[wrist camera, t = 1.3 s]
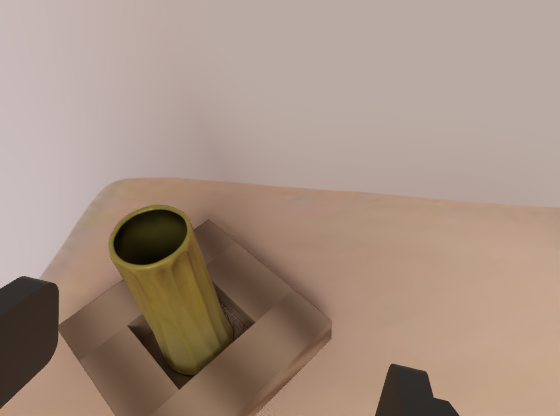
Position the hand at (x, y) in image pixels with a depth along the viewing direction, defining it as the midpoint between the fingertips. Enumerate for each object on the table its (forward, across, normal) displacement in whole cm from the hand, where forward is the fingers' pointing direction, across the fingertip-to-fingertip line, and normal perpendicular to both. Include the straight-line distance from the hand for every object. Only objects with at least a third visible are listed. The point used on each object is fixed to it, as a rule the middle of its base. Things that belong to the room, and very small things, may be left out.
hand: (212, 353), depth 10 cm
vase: (+23, +6, +17) cm, 30 cm away
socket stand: (+23, +6, +17) cm, 29 cm away
